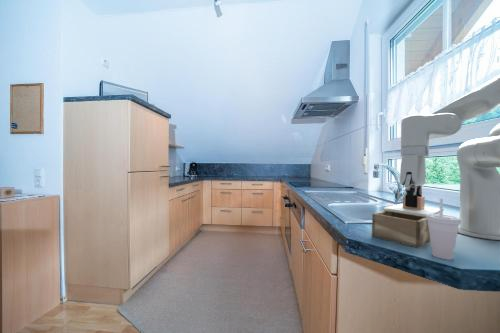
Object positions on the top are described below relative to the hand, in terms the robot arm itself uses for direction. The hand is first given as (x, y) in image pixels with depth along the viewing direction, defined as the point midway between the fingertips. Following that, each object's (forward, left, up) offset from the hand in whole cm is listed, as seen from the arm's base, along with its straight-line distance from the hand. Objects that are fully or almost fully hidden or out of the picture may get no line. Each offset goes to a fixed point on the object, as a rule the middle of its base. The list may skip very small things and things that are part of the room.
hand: (413, 205), depth 73 cm
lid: (0, 0, -2) cm, 2 cm away
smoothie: (+19, +11, -9) cm, 24 cm away
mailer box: (+9, 0, -9) cm, 13 cm away
